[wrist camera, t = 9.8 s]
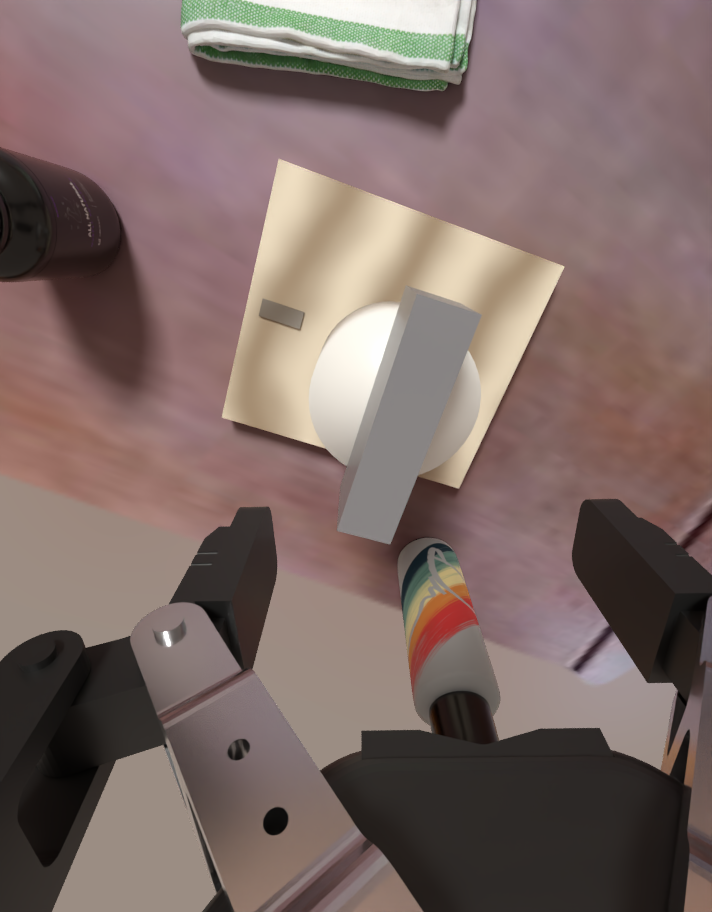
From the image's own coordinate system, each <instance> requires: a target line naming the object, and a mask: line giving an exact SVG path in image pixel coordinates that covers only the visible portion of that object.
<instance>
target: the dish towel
mask: <svg viewBox="0 0 712 912" xmlns="http://www.w3.org/2000/svg"><path fill="white" fill-rule="evenodd" d="M476 2H477V0H182V8H181V31H182V34H183V36H184V37H185V38H186V39H187V40H188V47H189V50H190V52H191V53H192V54H193V55H196V56H199V57H202V58H205V59H207V60H209V61H213V62H220V63H228V64H237V65H242V66H247V67H251V68H267V69H272V70H284V71H293V72H304V73H309V74H315V75H319V74H322V75H329V76H335V77H340V78H347V79H354V80H360V81H368V82H374V83H377V84H381V85H384V86H388V87H394V88H405V89H411V90H416V91H433V90H439V91H444V90H445V89H446V88H447V86H448V83H449V82H451V83H453V84H456V85H459V84H460V83H461V80H462V73H464V72H465V71H466V69H467V64H468V46H469V43H470V40H471V36H472V29H473V21H474V16H475V11H476Z"/></svg>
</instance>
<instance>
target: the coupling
mask: <svg viewBox="0 0 712 912" xmlns="http://www.w3.org/2000/svg"><path fill="white" fill-rule="evenodd" d="M481 316H482V315H481V314H480V313H478V312H476V311H474V310H472V309H470V308H468V307H466V306H465V305H463V304H461V303H459V302H456V301H453V300H450V299H446V298H443V297H440V296H437V295H434V294H431V293H428V292H425V291H422V290H419V289H416V288H413V287H410V286H407V285H406V286H405V289H404V293H403V296H402V299H401V302H395V301H387V302H378V303H373V304H370V305H366V306H363V307H361V308H359V309H357V310H355V311H353V312H352V313H350V314H349V315H347V316H346V317H345V318H343V319H342V320H341V321H340V322H339V323H338V324H337V325H336V326H335V327H334V329H333V330H332V331H331V333H330V334H329V336H328V337H327V339H326V341H325V343H324V345H323V347H322V350H321V353H320V355H319V358H318V361H317V364H316V366H315V369H314V372H313V375H312V378H311V383H310V388H309V410H310V415H311V420H312V423H313V426H314V428H315V431H316V433H317V435H318V437H319V439H320V440H321V442H322V443H323V445H324V446H325V447H326V449H327V450H328V451H329V452H330V453H331V454H332V455H333V456H334V457H335V458H336V459H337V460H339V461H340V462H341V463H342V464H344V465H346V466H347V467H346V470H345V474H344V477H343V480H342V483H341V486H340V496H339V509H338V522H337V531H340V532H343V533H347V534H351V535H355V536H359V537H363V538H367V539H371V540H375V541H378V542H382V543H386V544H391V541H392V539H393V536H394V534H395V531H396V529H397V526H398V524H399V521H400V519H401V516H402V514H403V511H404V509H405V506H406V504H407V501H408V499H409V496H410V494H411V491H412V489H413V486H414V484H415V481H416V479H417V476H418V475H420V474H423V473H425V472H428V471H430V470H432V469H434V468H436V467H438V466H440V465H441V464H443V463H444V462H445V461H447V460H448V459H449V458H451V457H452V456H453V455H454V454H455V453H456V452H457V451H458V450H459V449H460V448H461V446H462V445H463V444H464V443H465V441H466V440H467V438H468V437H469V435H470V433H471V431H472V429H473V427H474V425H475V423H476V420H477V417H478V413H479V409H480V402H481V384H480V379H479V374H478V370H477V368H476V365H475V362H474V360H473V358H472V356H471V354H470V352H469V351H468V349H469V346H470V344H471V341H472V339H473V336H474V334H475V331H476V329H477V326H478V324H479V321H480V319H481Z"/></svg>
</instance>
